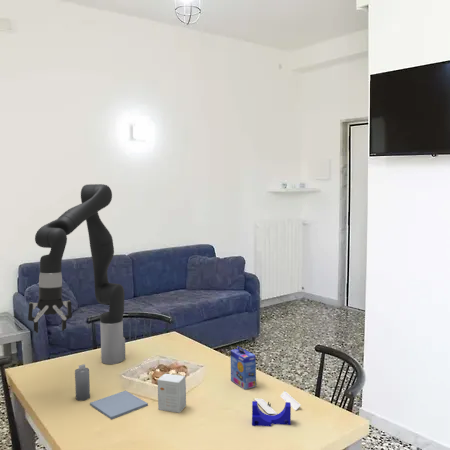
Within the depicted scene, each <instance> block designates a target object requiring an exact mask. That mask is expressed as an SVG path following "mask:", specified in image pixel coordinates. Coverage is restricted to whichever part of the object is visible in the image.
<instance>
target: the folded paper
mask: <svg viewBox="0 0 450 450" xmlns="http://www.w3.org/2000/svg"><path fill="white" fill-rule="evenodd" d="M279 397H280V398H282V399H283V401H284V402H285V403H286V402H290V405H291V409H293V410H294V411H297V410H298V409H299V408H300V407H301V406H302V404H300V402H299V401H297V400H296V399H295V398H294V397H293V396H291V394H289V393H288V392H287V391H285V390H284V391H283V392H282V393H281V394H280V395H279ZM253 401H257V404H258V405H259V406H260V407H261V408H262V409H263V411H265V412H266V414H267V415H277V414H278V413H277V411H275V409H273V407H272V406H271V405H272V404H271V403H270V401H268V402H267V401H266V400H265V399H263V398H253Z"/></svg>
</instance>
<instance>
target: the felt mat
mask: <svg viewBox="0 0 450 450" xmlns="http://www.w3.org/2000/svg"><path fill="white" fill-rule="evenodd" d="M89 406H91V407H92V408H93V409H95V410H97V411H98V412H100V414H103V415H104V416H105V417H106V418H109V419H110V420H115V419H117V418H118V417H119V418H120V417H122V416H124V415H127V414H129V413H132V412H134V411H137V410H139V409H143V408H145V407H148V406H149V403H148V402H146V401H145V400H143V399H141V398H139V397H138V396H136V395H134V394H132V393H131V392H129V391H127V390H122V391H121V392H120V391H119V392H117V393H115V394H111V395H108V396H105V397H103V398H99V399H97V400H94V401H91V402H90V403H89Z"/></svg>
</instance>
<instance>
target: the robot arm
mask: <svg viewBox="0 0 450 450" xmlns="http://www.w3.org/2000/svg"><path fill="white" fill-rule="evenodd" d="M112 198H113V192H112V189H111V187H109V185H107V184H102V183H101V184H99V183H97V184H96V183H95V184H94V183H93V184H92V183H90V184H84V185H83V186H82V188H81V191H80V201H81V203H79V204H77V205H75V206H73V207H71V208H68V210H66V211H65V212H63V213H62V214H61V215H60V216H58V218H57V219H55V220H52V221H50V222H48V223H46V224H44V225H42V226H41V227H39V229H38V230H37V231H36V233H35V235H34V236H35V237H34V242H35V244H36V245H37V246H39V247H40V248H44V249H50V251H49V253H48V254H43V255H42V256H41V257H40V258H39V278H38V301H37V302H33V301H30V302H29V304H28V312H27V313H28V314H27V320H28V321H29V322H33V331H34V332H35V334H38V333H39V319H41V318H42V316H43V315H45V316H48V315H57V314H58V316H59V317H60V318H61V331H62V332H65V330H66V329H67V320H68V319H72V317H73V313H72V312H73V311H72V310H73V309H72V302H71V300H69V299H67V300H65V301H63V274H62V260H63V256H64V254H65V249H66V246H67V242H68V236H69V235H70V234H72V233H73V232H74V231H75V230H76V229H77V228H78V227H79V226H81V224H83V223H84V222H86V226H87V227H86V228H87V232H88V240H89V249H90V254H91V259H92V267H93V277H94V278H93V279H94V281H93V282H94V295H95V299H96V302H97V303H99V304H100V305H105V306H109V309H108V311H107V312H103V313H102V314H100V316H99V317H100V319H99V321H100V322H99V323H100V324H99V325H100V353H101V354H100V359H101V360H100V361H101V363H102V364H105V365H115V364H120V363H121V362H123V361H124V360H126V338H125V337H124V322H123V321H124V320H123V319H124V318H123V317H124V313H125V289H124V287H123V285H122V284H120V283H114V282H113V283H112V282H109V278H108V270H109V267H110V265H111V262H112V260H113V258H114V253H115V248H114V242H113V241H114V240H113V236H112V234H111V232H110V231H109V229H108V228H107V226H106V225H105V224H104V222H103V221H102V220H101V217H100V215H99V212H100V211H101V210H103V209H105V208H106V207H107V206H109V205H110V204H111V202H112ZM63 306H64V307H65V308H66V309H67V314H65V313H64V312H63V310H61V308H62V307H63ZM36 308H38V309H39V311H38V312H37V313H36V314H35V316H33V310H35V309H36Z"/></svg>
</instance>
